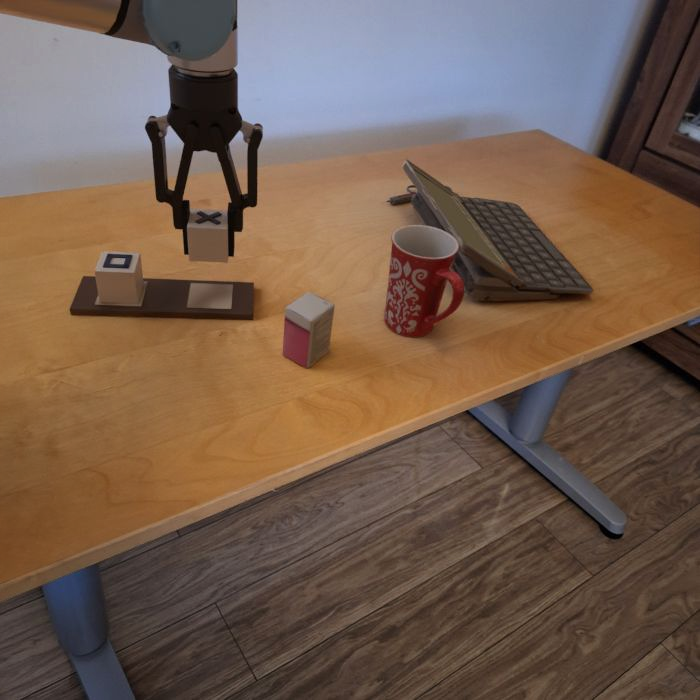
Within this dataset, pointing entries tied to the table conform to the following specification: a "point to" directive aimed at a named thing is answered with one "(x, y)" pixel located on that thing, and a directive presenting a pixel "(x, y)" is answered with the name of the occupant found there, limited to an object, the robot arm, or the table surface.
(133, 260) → the tile
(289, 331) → the small box
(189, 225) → the tile
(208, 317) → the word board
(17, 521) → the table surface
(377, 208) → the table surface
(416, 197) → the laptop
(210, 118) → the robot arm
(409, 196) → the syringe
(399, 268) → the mug
